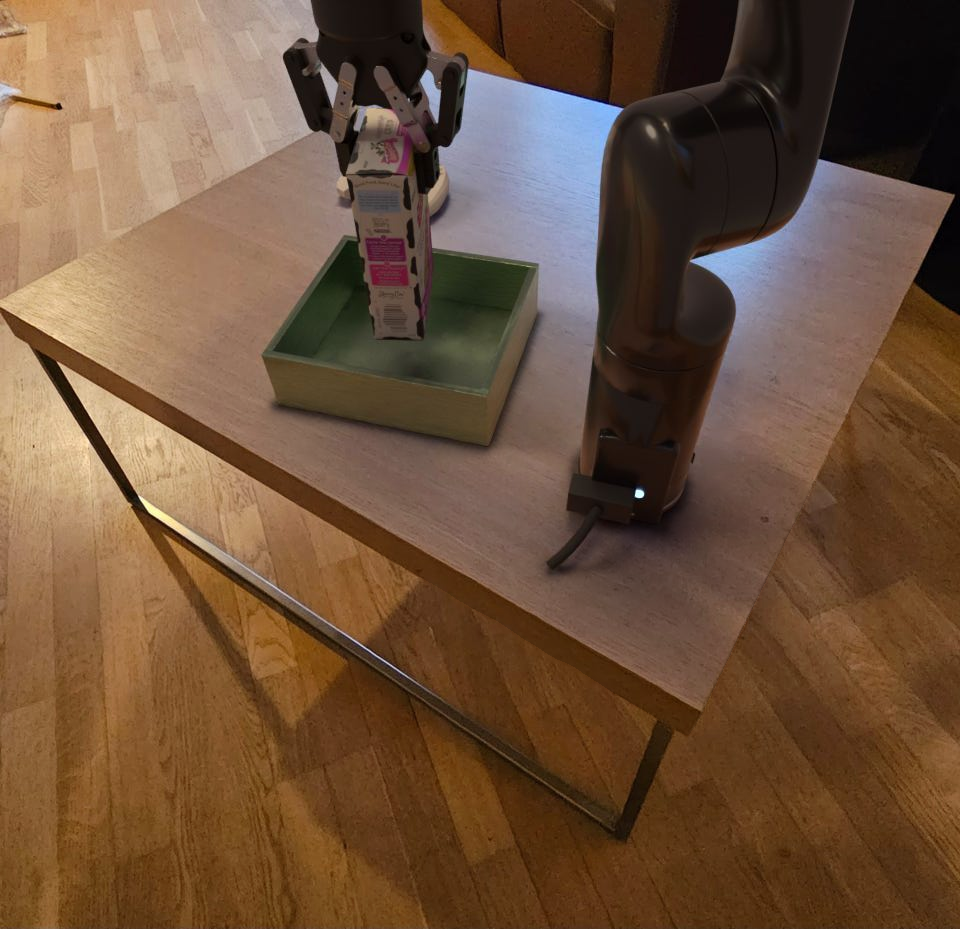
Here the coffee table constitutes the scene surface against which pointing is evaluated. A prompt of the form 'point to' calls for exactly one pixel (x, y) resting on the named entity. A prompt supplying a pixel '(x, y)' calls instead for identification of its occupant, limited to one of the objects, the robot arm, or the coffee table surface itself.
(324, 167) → the coffee table surface
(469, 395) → the shallow wooden crate
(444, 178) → the game controller
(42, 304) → the coffee table surface
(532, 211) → the coffee table surface
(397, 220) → the candy bar box
